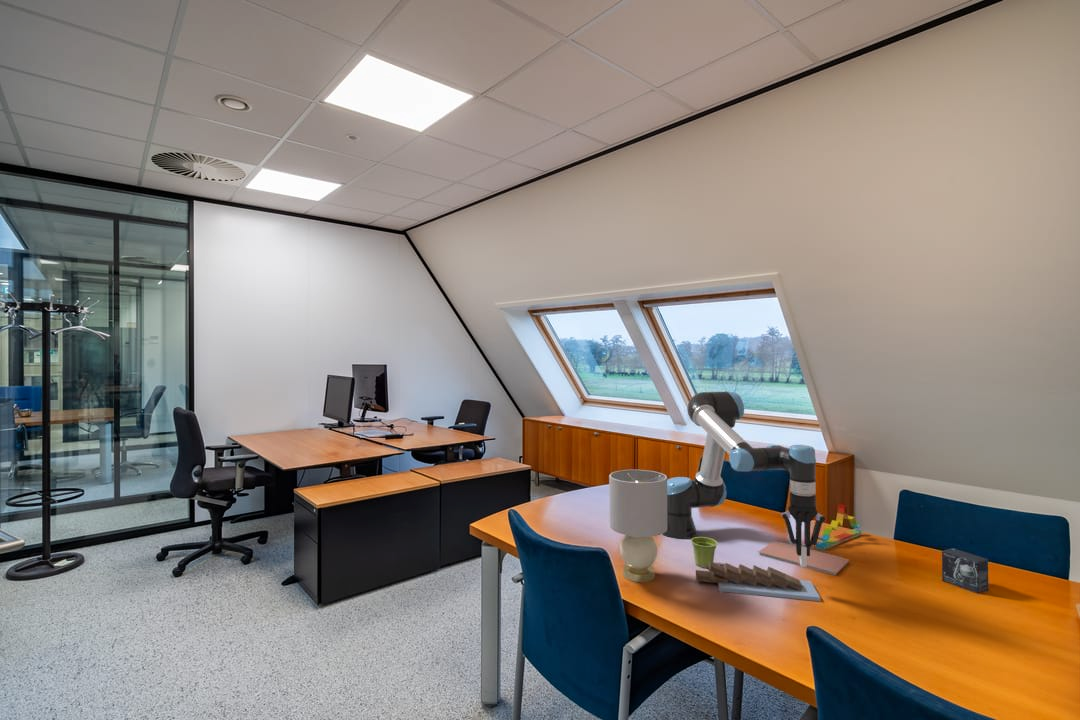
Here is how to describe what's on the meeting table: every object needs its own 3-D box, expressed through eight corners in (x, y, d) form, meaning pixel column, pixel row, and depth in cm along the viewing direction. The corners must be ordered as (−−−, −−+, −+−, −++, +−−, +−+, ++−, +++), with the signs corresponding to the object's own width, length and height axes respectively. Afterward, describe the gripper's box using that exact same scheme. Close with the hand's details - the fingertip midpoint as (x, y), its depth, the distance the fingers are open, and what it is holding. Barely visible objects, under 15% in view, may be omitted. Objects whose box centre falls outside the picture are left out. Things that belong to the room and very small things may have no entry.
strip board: (719, 591, 167) (719, 587, 167) (716, 575, 179) (716, 572, 178) (820, 601, 159) (820, 597, 159) (810, 584, 171) (810, 581, 171)
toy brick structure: (823, 550, 201) (823, 513, 201) (815, 548, 204) (815, 511, 203) (862, 535, 217) (861, 500, 217) (854, 533, 220) (853, 499, 220)
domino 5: (785, 589, 165) (754, 575, 167) (782, 582, 170) (752, 569, 172) (787, 584, 165) (756, 571, 167) (784, 578, 170) (754, 565, 172)
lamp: (631, 559, 194) (631, 467, 193) (679, 575, 179) (678, 475, 179) (598, 575, 179) (597, 476, 179) (646, 594, 165) (646, 486, 165)
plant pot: (717, 561, 191) (717, 538, 191) (717, 571, 182) (717, 547, 182) (691, 558, 194) (691, 535, 194) (690, 568, 185) (690, 544, 185)
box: (941, 581, 173) (940, 550, 173) (952, 577, 176) (952, 547, 175) (978, 594, 163) (977, 562, 163) (989, 590, 166) (989, 558, 166)
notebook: (850, 563, 189) (850, 558, 189) (836, 577, 178) (836, 571, 178) (775, 544, 209) (775, 539, 209) (758, 556, 197) (758, 550, 197)
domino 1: (727, 583, 170) (696, 580, 172) (726, 577, 174) (695, 574, 177) (727, 579, 170) (696, 576, 172) (726, 572, 174) (695, 569, 177)
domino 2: (738, 584, 169) (709, 570, 171) (736, 577, 174) (708, 564, 176) (740, 579, 169) (711, 566, 171) (738, 573, 173) (709, 560, 176)
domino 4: (770, 587, 166) (739, 574, 169) (767, 581, 171) (737, 568, 173) (772, 583, 166) (741, 569, 168) (769, 577, 171) (739, 563, 173)
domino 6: (800, 590, 164) (769, 577, 166) (797, 584, 169) (766, 570, 171) (802, 586, 164) (771, 572, 166) (799, 579, 169) (768, 566, 171)
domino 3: (755, 586, 167) (725, 572, 170) (753, 579, 172) (724, 566, 175) (757, 582, 167) (727, 568, 170) (755, 575, 172) (725, 562, 174)
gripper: (783, 495, 164) (783, 568, 164) (828, 497, 160) (828, 572, 161) (778, 489, 171) (779, 559, 171) (821, 491, 168) (822, 562, 168)
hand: (803, 565), depth 166 cm, fingers closed
